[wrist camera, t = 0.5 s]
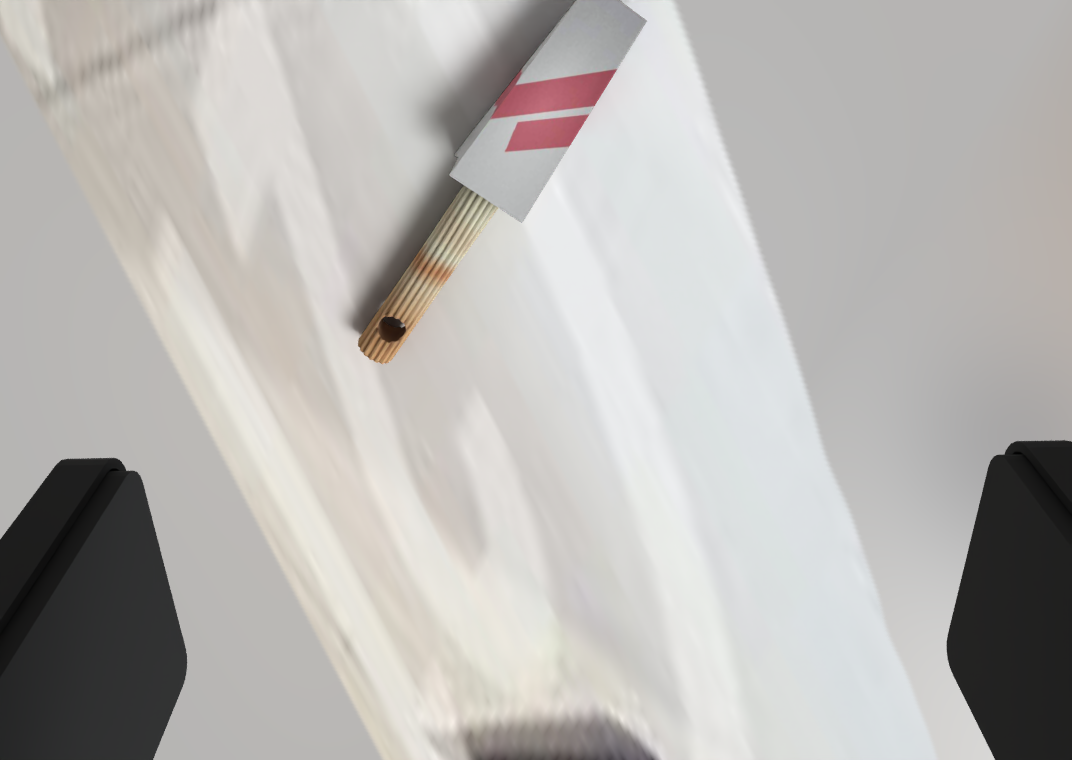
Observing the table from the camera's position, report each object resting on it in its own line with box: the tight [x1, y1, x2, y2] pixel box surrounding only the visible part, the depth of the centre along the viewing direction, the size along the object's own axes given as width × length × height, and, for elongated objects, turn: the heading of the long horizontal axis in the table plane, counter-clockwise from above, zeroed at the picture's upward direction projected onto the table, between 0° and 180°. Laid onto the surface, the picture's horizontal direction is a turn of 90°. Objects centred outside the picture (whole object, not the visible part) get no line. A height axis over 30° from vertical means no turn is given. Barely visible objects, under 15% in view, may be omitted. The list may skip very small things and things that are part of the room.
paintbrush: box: [358, 0, 647, 364], centre depth 45 cm, size 4×3×20 cm
